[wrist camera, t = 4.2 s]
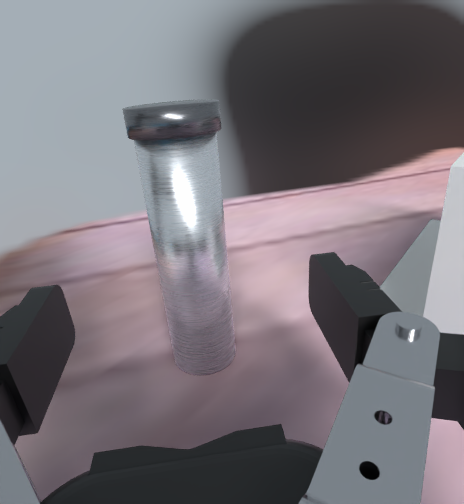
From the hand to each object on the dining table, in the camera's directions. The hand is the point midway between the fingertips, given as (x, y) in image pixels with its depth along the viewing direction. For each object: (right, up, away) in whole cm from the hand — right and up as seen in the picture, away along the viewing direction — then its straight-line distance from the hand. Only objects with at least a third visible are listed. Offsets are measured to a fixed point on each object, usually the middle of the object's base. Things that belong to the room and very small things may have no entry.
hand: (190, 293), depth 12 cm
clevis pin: (0, -4, +7) cm, 8 cm away
